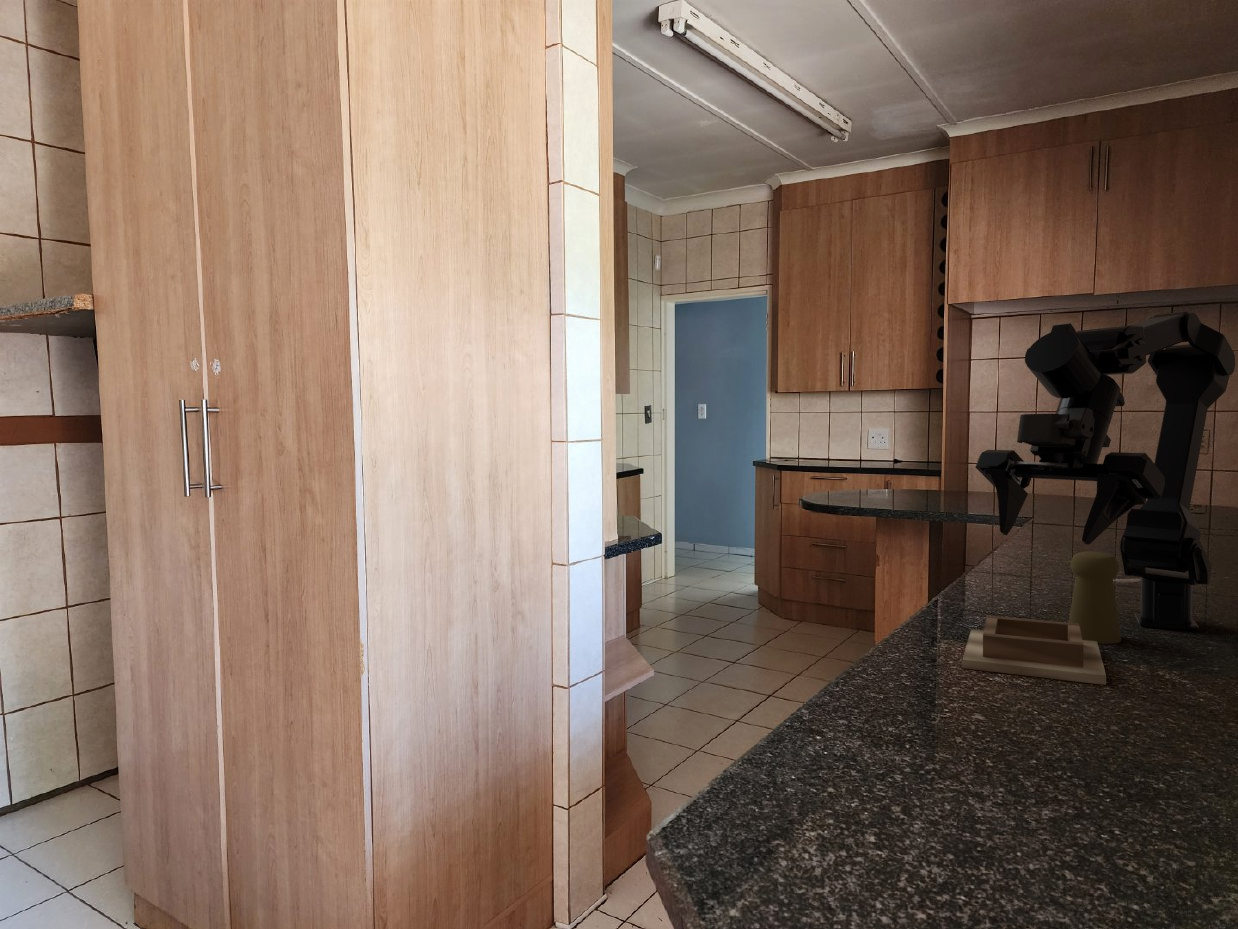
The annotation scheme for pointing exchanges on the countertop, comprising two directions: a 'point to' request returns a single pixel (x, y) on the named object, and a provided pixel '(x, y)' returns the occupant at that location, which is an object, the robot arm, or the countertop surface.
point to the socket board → (1034, 650)
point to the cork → (1095, 597)
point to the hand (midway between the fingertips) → (1042, 538)
